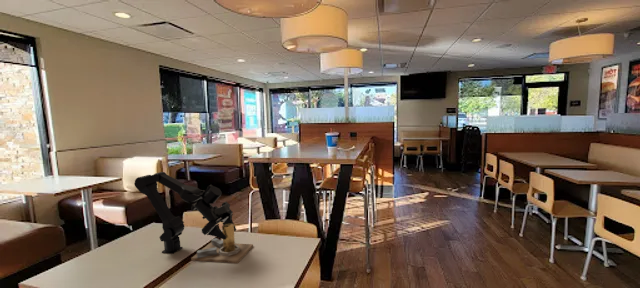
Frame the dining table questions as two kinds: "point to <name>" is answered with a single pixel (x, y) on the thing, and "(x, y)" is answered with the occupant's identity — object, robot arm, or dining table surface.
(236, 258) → the shaft board
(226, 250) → the brass sleeve
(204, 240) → the dining table surface
